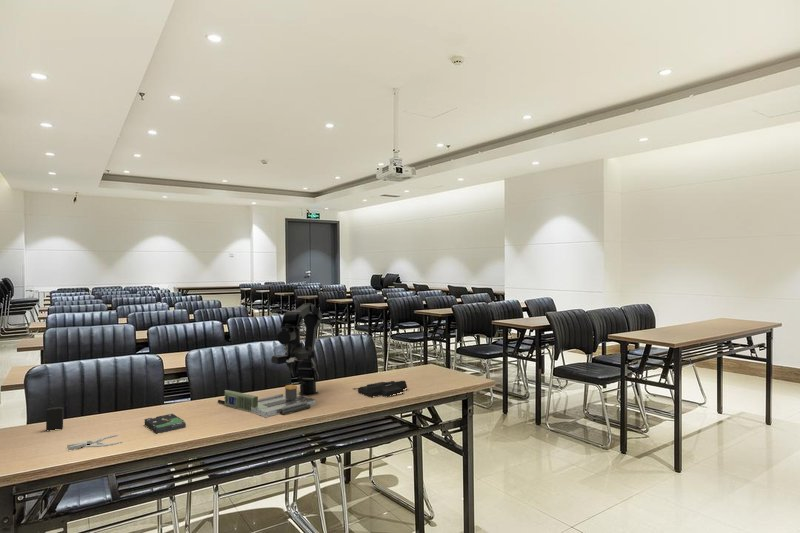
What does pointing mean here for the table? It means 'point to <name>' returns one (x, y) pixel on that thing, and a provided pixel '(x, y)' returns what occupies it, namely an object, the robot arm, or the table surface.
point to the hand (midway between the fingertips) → (294, 376)
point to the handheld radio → (239, 400)
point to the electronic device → (383, 388)
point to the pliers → (84, 444)
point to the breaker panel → (278, 405)
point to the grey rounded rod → (270, 397)
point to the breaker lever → (291, 392)
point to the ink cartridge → (54, 418)
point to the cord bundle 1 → (294, 407)
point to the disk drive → (165, 423)
